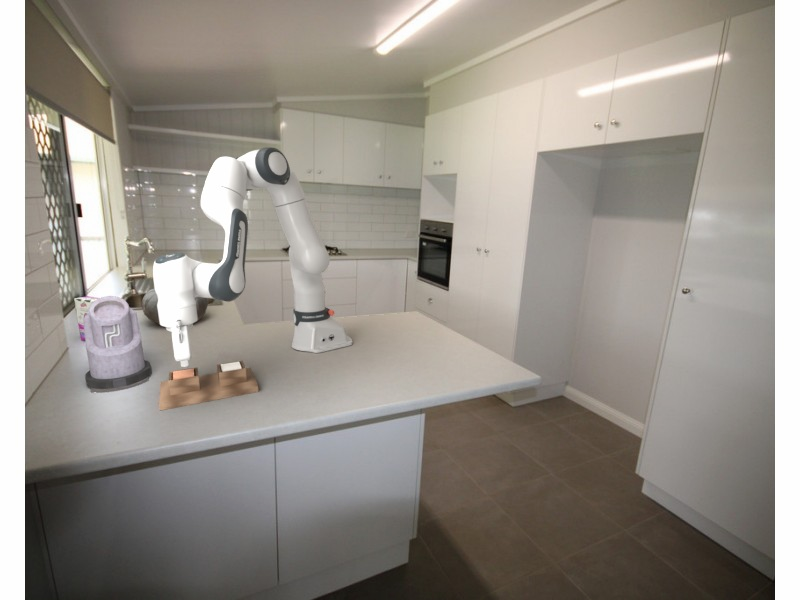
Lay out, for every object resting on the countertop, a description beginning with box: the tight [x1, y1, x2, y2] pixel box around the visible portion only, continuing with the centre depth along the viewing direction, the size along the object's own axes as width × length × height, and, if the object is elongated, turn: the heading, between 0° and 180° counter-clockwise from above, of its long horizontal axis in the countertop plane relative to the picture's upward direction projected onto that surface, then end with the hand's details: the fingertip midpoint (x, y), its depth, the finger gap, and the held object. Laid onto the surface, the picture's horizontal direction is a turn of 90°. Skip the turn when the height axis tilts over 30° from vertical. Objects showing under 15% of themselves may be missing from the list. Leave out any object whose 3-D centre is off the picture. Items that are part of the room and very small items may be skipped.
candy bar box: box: [73, 295, 100, 342], centre depth 149 cm, size 11×5×16 cm, turn 68°
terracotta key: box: [173, 367, 195, 380], centre depth 109 cm, size 5×5×3 cm
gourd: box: [141, 288, 209, 325], centre depth 174 cm, size 25×25×17 cm
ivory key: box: [220, 361, 242, 372], centre depth 115 cm, size 5×5×3 cm
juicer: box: [83, 295, 152, 394], centre depth 121 cm, size 30×16×24 cm, turn 35°
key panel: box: [158, 360, 259, 411], centre depth 112 cm, size 24×14×6 cm, turn 118°
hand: (184, 364), depth 108 cm, fingers closed
